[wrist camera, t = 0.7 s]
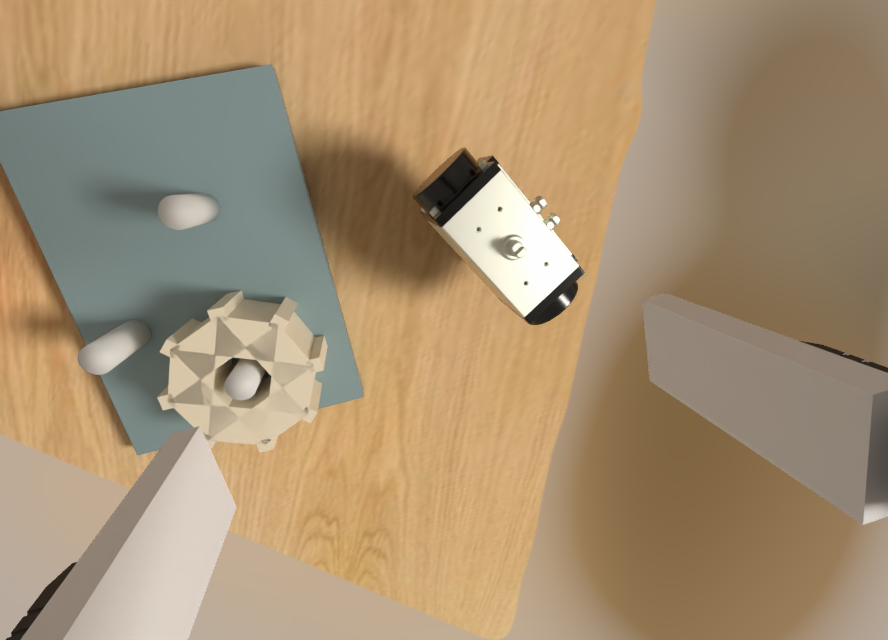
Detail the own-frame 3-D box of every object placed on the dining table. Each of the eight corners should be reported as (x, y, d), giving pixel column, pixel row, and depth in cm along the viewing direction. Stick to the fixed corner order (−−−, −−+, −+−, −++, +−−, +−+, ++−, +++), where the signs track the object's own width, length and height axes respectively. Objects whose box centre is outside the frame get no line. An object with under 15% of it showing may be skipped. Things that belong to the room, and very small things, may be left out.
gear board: (-5, 118, 30) (-105, 99, 24) (274, 69, 32) (254, 40, 26) (145, 445, 38) (101, 500, 31) (363, 389, 40) (364, 430, 33)
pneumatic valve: (495, 299, 40) (550, 345, 29) (399, 195, 36) (419, 201, 25) (542, 254, 40) (617, 282, 28) (451, 144, 36) (495, 126, 24)
